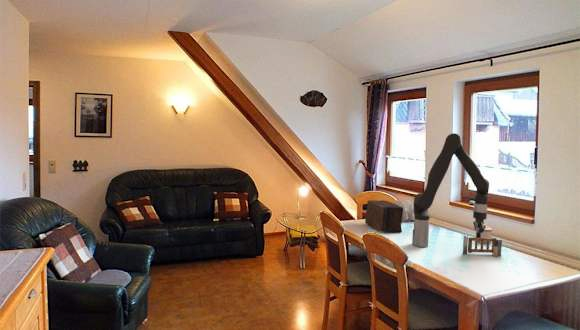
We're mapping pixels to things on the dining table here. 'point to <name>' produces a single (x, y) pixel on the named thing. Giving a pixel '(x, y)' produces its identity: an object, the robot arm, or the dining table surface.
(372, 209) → the decorative box
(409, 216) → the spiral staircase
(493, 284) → the dining table surface
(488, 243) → the walnut gate
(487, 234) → the teacup with lid
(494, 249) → the post
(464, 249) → the hinge post
